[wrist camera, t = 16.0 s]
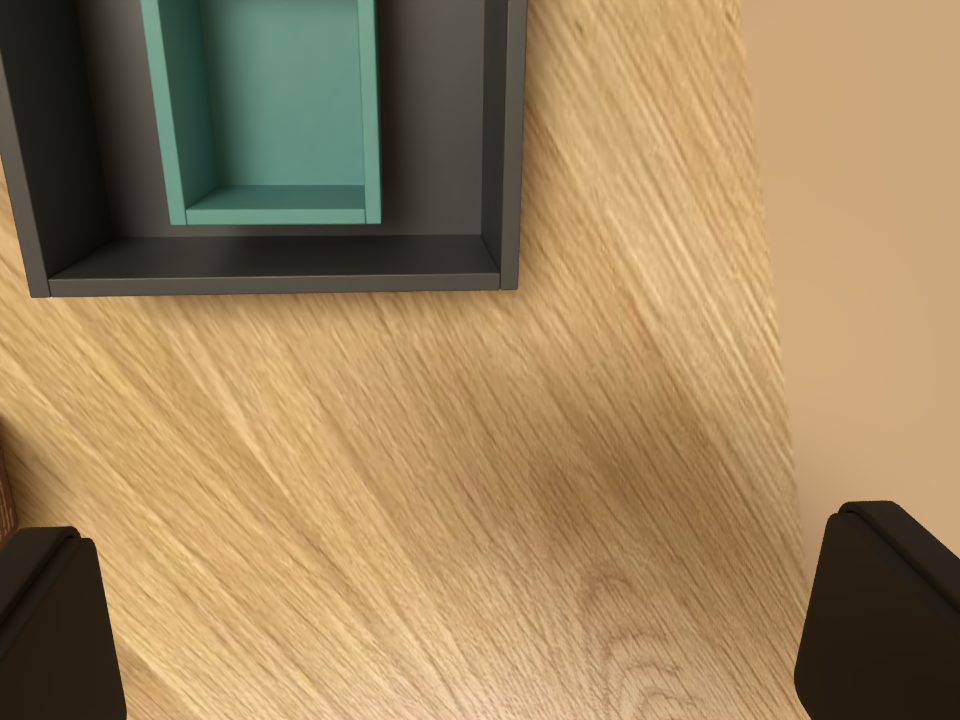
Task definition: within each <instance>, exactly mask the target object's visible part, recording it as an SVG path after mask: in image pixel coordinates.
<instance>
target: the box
mask: <svg viewBox="0 0 960 720" xmlns="http://www.w3.org/2000/svg"><path fill="white" fill-rule="evenodd" d="M18 527H19V525H18V521H17V517H16V513H15V508H14V504H13V500H12V496H11V491H10V487H9V483H8V479H7V474H6V470H5V466H4V462H3V457H2V453H1V449H0V550H1V549H2V547H3V546H4V545H5V544H6V543H7V541H8V540H9V539H10V537H11V536H12V535H13V534H14V532H15V531H16V530H17V529H18Z"/></svg>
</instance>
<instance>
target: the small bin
mask: <svg viewBox="0 0 960 720" xmlns="http://www.w3.org/2000/svg"><path fill="white" fill-rule="evenodd" d="M140 5H141V12H142V19H143V27H144V34H145V41H146V48H147V56H148V63H149V70H150V78H151V85H152V92H153V100H154V107H155V114H156V122H157V129H158V136H159V143H160V151H161V158H162V165H163V173H164V180H165V187H166V195H167V202H168V209H169V216H170V224H171V225H187V224H188V225H316V224H365V223H366V224H381V223H382V211H383V198H384V187H383V156H382V125H381V93H380V62H379V31H378V0H140Z"/></svg>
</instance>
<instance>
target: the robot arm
mask: <svg viewBox="0 0 960 720" xmlns="http://www.w3.org/2000/svg"><path fill="white" fill-rule="evenodd" d="M794 684H795V689H796V692H797V695H798V698H799V700H800V702H801V704H802V705H803V707H804V708H805V710H806V712H807V713H808V715H809V716H810V718H811V720H960V559H959V558H958V557H957V556H956V555H954V554H953V553H952V552H951V551H950V550H949V549H947V547H946V546H944V545H943V544H942V543H941V542H940V541H939V540H938V539H936V538H935V537H934V536H933V535H932V534H931V533H930V532H929V531H927V530H926V529H925V528H924V527H923V526H922V525H921V524H919V523H918V522H917V521H916V520H915V519H914V518H913V517H912V516H910V515H909V514H908V513H907V512H906V511H905V510H904V509H902V508H901V507H900V506H899V505H897V504H896V503H894V502H893V501H859V502H847V503H845V504H843V505H842V506H841V507H840V509H839V511H838V513H834V514H832V515H831V516H830V518H829V519H828V521H827V524H826V528H825V533H824V538H823V542H822V546H821V551H820V555H819V561H818V565H817V569H816V574H815V579H814V583H813V588H812V592H811V597H810V601H809V606H808V610H807V615H806V619H805V624H804V629H803V633H802V638H801V642H800V647H799V651H798V656H797V661H796V665H795V670H794ZM126 719H127V710H126V702H125V697H124V692H123V687H122V681H121V676H120V671H119V666H118V660H117V655H116V650H115V645H114V639H113V634H112V629H111V624H110V619H109V613H108V608H107V603H106V598H105V592H104V587H103V582H102V577H101V571H100V566H99V561H98V556H97V550H96V547H95V543H94V542H93V540H92V539H90V538H81V536H80V533H79V532H78V530H77V529H76V528H74V527H72V526H64V527H32V528H22V529H19V530H18V531H17V532H16V533H14V534H13V536H12V537H11V538H10V539H9V540H8V541H7V543H6V544H5V545H4V546H3V547H2V549H1V550H0V720H126Z"/></svg>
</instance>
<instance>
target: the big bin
mask: <svg viewBox="0 0 960 720" xmlns="http://www.w3.org/2000/svg"><path fill="white" fill-rule="evenodd" d="M527 10H528V0H378V31H379V62H380V93H381V125H382V156H383V187H384V198H383V211H382V223H381V224H366V223H365V224H316V225H188V224H187V225H171V224H170V216H169V209H168V202H167V195H166V187H165V180H164V173H163V165H162V158H161V151H160V143H159V136H158V129H157V122H156V114H155V107H154V100H153V92H152V85H151V78H150V70H149V63H148V56H147V48H146V41H145V34H144V27H143V19H142V12H141V5H140V0H0V155H1V160H2V164H3V169H4V174H5V178H6V183H7V188H8V192H9V197H10V202H11V207H12V211H13V216H14V221H15V225H16V230H17V235H18V239H19V244H20V249H21V253H22V258H23V263H24V267H25V272H26V277H27V281H28V286H29V291H30V296H31V297H32V298H48V297H106V296H168V295H229V294H291V293H353V292H415V291H477V290H499V289H500V290H517V289H518V274H519V245H520V215H521V186H522V157H523V127H524V98H525V68H526V39H527Z"/></svg>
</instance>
